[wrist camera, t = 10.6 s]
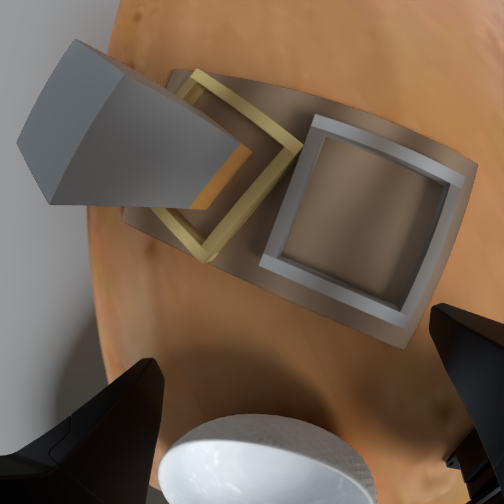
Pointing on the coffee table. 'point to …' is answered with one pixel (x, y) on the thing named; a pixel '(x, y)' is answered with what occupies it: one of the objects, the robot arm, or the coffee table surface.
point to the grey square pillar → (123, 139)
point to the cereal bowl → (264, 464)
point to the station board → (322, 205)
